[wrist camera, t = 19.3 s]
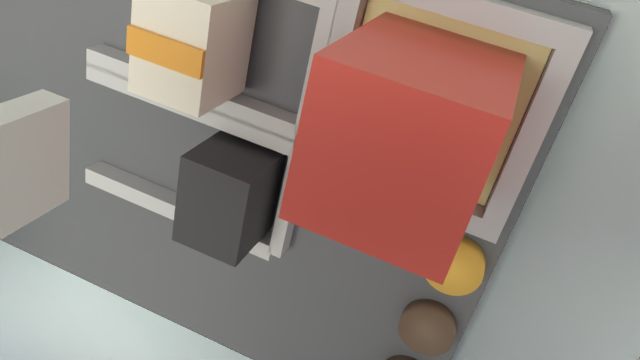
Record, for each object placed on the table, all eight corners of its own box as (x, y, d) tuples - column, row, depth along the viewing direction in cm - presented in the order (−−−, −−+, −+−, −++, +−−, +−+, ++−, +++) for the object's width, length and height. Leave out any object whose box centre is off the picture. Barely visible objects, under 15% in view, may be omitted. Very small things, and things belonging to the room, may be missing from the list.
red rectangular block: (352, 136, 22) (278, 217, 16) (386, 11, 20) (313, 54, 14) (474, 181, 21) (442, 285, 15) (526, 54, 19) (512, 120, 13)
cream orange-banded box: (181, 68, 24) (123, 92, 21) (190, -30, 22) (129, -20, 19) (244, 91, 23) (194, 119, 20) (259, -8, 21) (207, 6, 18)
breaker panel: (15, 229, 35) (-55, 270, 31) (-11, -164, 24) (-122, -179, 20) (419, 417, 29) (397, 498, 25) (609, 10, 19) (623, 37, 15)
